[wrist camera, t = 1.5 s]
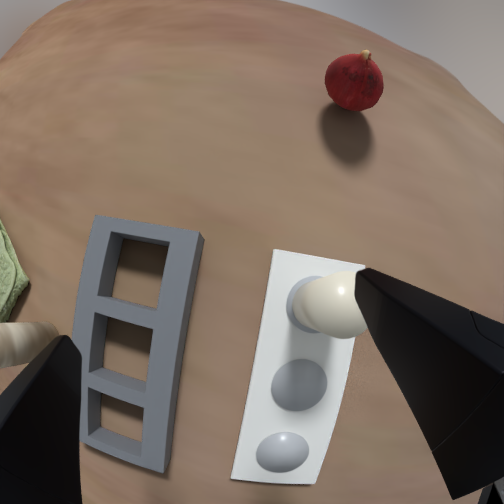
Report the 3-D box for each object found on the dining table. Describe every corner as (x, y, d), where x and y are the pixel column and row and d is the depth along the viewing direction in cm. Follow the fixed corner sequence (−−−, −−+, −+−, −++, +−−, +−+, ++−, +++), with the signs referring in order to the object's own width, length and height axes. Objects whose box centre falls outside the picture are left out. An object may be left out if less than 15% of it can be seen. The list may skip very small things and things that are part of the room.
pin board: (170, 459, 19) (163, 473, 16) (83, 427, 19) (71, 436, 16) (204, 239, 22) (199, 231, 20) (108, 222, 22) (95, 214, 20)
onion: (375, 126, 25) (407, 79, 17) (325, 125, 25) (349, 70, 17) (359, 87, 26) (382, 39, 18) (312, 85, 26) (328, 31, 18)
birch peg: (59, 362, 20) (-41, 385, 7) (35, 350, 20) (-60, 362, 7) (62, 327, 21) (-45, 333, 8) (37, 317, 21) (-63, 314, 8)
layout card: (312, 478, 19) (333, 529, 11) (231, 472, 19) (226, 528, 11) (360, 266, 22) (410, 249, 14) (272, 251, 22) (286, 223, 14)
